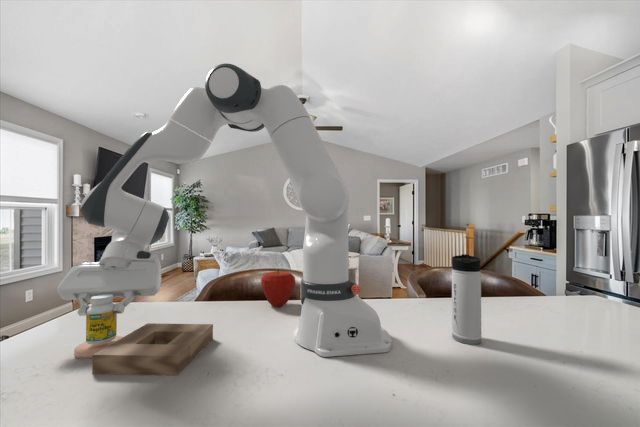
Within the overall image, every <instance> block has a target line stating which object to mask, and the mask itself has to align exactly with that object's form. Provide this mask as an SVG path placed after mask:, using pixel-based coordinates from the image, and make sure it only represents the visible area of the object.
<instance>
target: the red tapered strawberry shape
mask: <svg viewBox="0 0 640 427" xmlns="http://www.w3.org/2000/svg"><path fill="white" fill-rule="evenodd" d="M260 279H261V281H260V282H261V284H260V285H261V287H262V291H263V294H264V297H265V298H266V301H267V302H268V304H270V305H271V306H272V307H275V308H282V307H283V306H284V305H286V304H288V301H289V300H290V298H291V296H292V294H293V291H294V289H295V286H296V277H295V276H294V275H293V273H291V272H288V271H287V272H286V271H280V270H279V269H278V270H277V271H271V272H266V273H264V274H263V275H262V277H261V278H260Z"/></svg>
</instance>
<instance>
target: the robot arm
mask: <svg viewBox="0 0 640 427" xmlns="http://www.w3.org/2000/svg"><path fill="white" fill-rule="evenodd" d="M225 125H228V127H229V128H230V129H234V130H240V131H243V132H250V133H253V132H255V133H256V132H260V131H261V130H263V129H264V128H265V129H266V131H267V133H268V136H269V138H270V140H271V142H272V143H273V145H274V147H275V150H276V152H277V154H278V156H279V158H280V160H281V162H282V164H283V166H284V169H285V171H286V174H287V176H288V179H289V181H290V184H291V186H292V189H293V191H294V193H295V196H296V198H297V201H298V203H299V205H300V208H301V210H302V211H303V213H304V214H305V225H304V226H305V227H304V234H303V235H304V238H303V245H302V278H301V280H300V286H299V288H300V296H299V297H300V299H299V300H300V303H301V312H300V318H299V324H298V329H297V332H296V335H295V342H296V343H297V344H298V345H299V346H301V347H303V348H305V349H307V350H310V351H312V352H315V354H317V355H318V356H321V357H323V358H324V357H325V358H326V357H327V358H328V357H341V356H342V357H343V356H354V355H366V354H367V355H368V354H379V353H388V352H390V350H392V346H393V344H392V338H391V335H390V333H389V332H388V331H387V330H386V329H385V328H384V327H382V324H381V320H380V316H379V315H378V313H377V311H376V309H374V307H372V306H371V305H370V304H368V303H367V302H366V301H364V300H363V299H362V298H361V297H360V296H358V295H359V294H361V287H360V285H358V284H357V282H355V281H354V280H352V279H350V278H349V201H350V200H349V198H350V196H349V195H350V194H349V190H348V187H347V185H346V182H345V181H344V179H343V177H342V176H341V174H340V172H339V170H338V169H337V167H336V165H335V163H334V160H333V159H332V157H331V155H330V153H329V152H328V150H327V147H326V146H325V144H324V143H323V141H322V139H321V136H320V135H319V132H318V130H317V128H316V126H315V124H314V122H313V120H312V118H311V116H310V115H309V112H308V111H307V108H306V107H305V106H304V104H303V102H302V101H301V100H300V98H299V97H298V95H297V94H296V93H295V92H294V91H293V89H292V88H290V87H289V86H287V85H283V84H278V85H277V84H276V85H273V86H271V87H269V88H264V87H262V85H261V82H260V80H259V79H257V78H256V77H255V76H253V75H252V74H250V73H249V72H246V71H245V70H244V69H242V68H241V67H239V66H238V65H234V64H233V63H220V64H218V65H216V66H214V67H212V69H211V70H210V71H209V72H208V73H207V76H206V78H205V82H204V87H200V86H199V87H197V86H196V87H192V88H190V89H189V90H188V91H187V92H186V93H185V94H184V95H183V97H182V98H181V99H180V101H179V102H178V103H177V105H176V106H175V108H174V110H172V112H171V114H170V116H169V118H168V119H167V121H166V123H164V125H163V126H162V127H160V128H159V129H157V130H155V131H146V132H144V133H143V134H141V135H140V136H139V137H137V139H136V140H135V141H134V142H133V143H132V144H131V146H130V147H129V148H127V150H126V151H125V152H124V154H123V155H122V156H120V158H119V160H117V162H116V163H115V164H114V165H113V166H112V168H111V169H110V170H109V171H108V173H107V174H106V176H105V177H104V178H103V179H102V181H100V182H99V183H98V184H96V185H95V186H94V187H93V188H92V189H90V191H89V192H87V193H86V195H85V196H84V198H83V199H82V201H81V203H80V207H79V208H80V209H79V212H80V213H81V216H82V217H83V219H84V221H86V222H87V223H88V224H89V225H92V226H93V225H94V226H96V227H101V228H107V229H110V230H113V233H112V236H111V241H110V242H109V243H108V244H107V245H106V247H105V249H104V251H103V252H102V253H103V254H102V256H101V257H100V259H99V261H96V262H95V261H94V262H80V263H79V264H76V265H74V266H72V267H71V268H70V269H69V271H68V272H67V274H66V275H65V276H64V278H63V279H62V280H61V281H60V282H59V284H58V286H57V287H56V292H57V295H58V296H59V297H60V298H61V299H62V300H64V301H71V300H72V301H73V300H74V301H75V300H76V301H77V300H78V303H79V307H78V310H77V315H78V316H79V317H84V316H86V311H87V309H88V308H89V307H90V305H89V304H87V303H90V299H91V297H93V296H97V295H103V294H112V295H113V299H114V298H123V299H122V300H120V302H116V303H114V304H115V307H114V309H113V312H115V314H123V313H124V312H125V308H126V307H127V306H128V305H130V303H132V302H133V301H134V298H135V297H149V296H150V297H151V296H156V295H157V293H159V292H160V289H161V284H162V275H161V271H162V265H161V262H160V259H159V256H158V255H157V254H156V253H155V252H152V251H147V250H146V249H147V248H149V246H151V245H153V244H156V243H157V242H158V241H160V240H161V239H162V238H163V237H164V235H165V232H166V229H167V225H168V223H169V220H170V215H169V212H168V211H167V209H166V207H164V206H163V205H160V204H158V203H155V202H153V201H151V200H148V199H145V198H142V197H139V196H137V195H134V194H132V193H130V192H127V191H125V190H123V188H122V187H123V186H124V184H125V183H126V182H127V181H128V179H130V177H131V175H133V174H134V172H135V171H136V170H137V169H138V167H140V165H142V164H143V163H146V162H150V161H161V162H168V163H170V162H171V163H176V164H188V163H193V162H197V161H198V160H201V159H202V158H203V156H205V154H206V153H207V151H208V150H209V148H210V146H211V145H212V142H213V141H214V139H215V137H216V135H217V133H218V131H219V130H220V129H221V128H222V127H223V126H225Z"/></svg>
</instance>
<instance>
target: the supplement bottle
mask: <svg viewBox="0 0 640 427" xmlns="http://www.w3.org/2000/svg"><path fill="white" fill-rule="evenodd" d="M113 301H114V298H113V295H112V294H103V295H97V296H93V297H91V299H90V301H89V303H90V305H91V306H89V308H88V309H87V311H86V317H85V318H86V319H85V324H86V326H85V342H86V343H88V344H102V343H105V342H108V341H111V340H113V339H114V338H115V337H116V336H117V327H118V326H117V324H118V323H117V318H118V315H117V314H115V312H113V309H114V307H115V304H116V303H113Z"/></svg>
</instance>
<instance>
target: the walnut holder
mask: <svg viewBox="0 0 640 427" xmlns="http://www.w3.org/2000/svg"><path fill="white" fill-rule="evenodd" d="M122 337H123V338H121V339H119V340H118V341H116V342H114V343H112V344H111V345H109V346H107V347H105V348H104V349H102V350H100V351H98V352H97V353H95V354H93V358H92V367H91V368H92V370H91V374H92V375H124V376H125V375H128V376H130V375H132V376H133V375H135V376H136V375H137V376H138V375H139V376H179V374H180V373H182V371H183V370H185V369H186V367H188V366H189V364H190V363H191V362H192V361H193V360H194V359H195V358H196V357H197V356H198V355H199V354H200V353H201V352H202V351H203V350H204V349H205V348H206V347H207V346H208V345H209V344H210V343H211V341H213V339H214V324H212V323H155V322H154V323H151V322H149V323H146V324H144V325H142V326H140V327H138V328H137V329H136V330H133V331H132V332H130V333H128V334H126V335H125V336H122Z"/></svg>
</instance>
